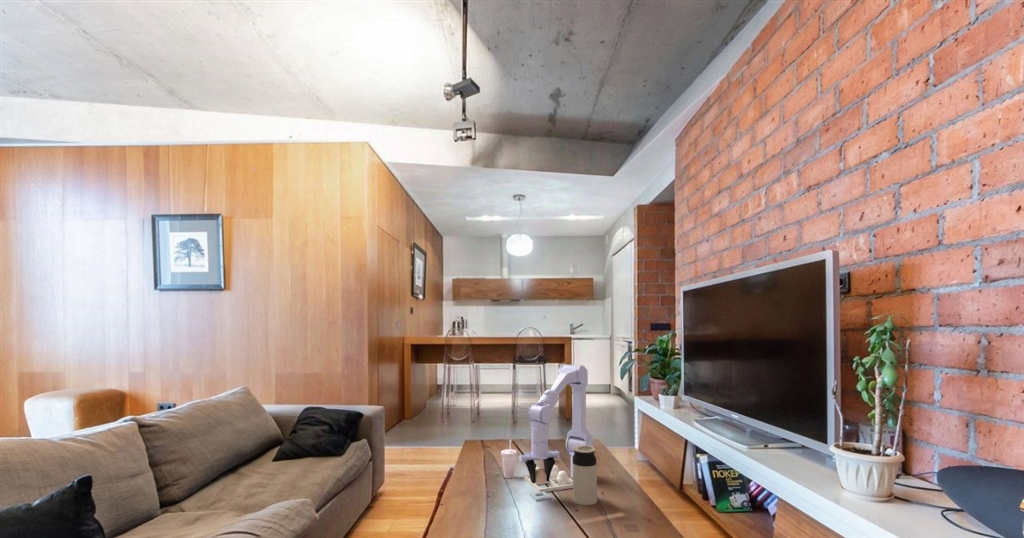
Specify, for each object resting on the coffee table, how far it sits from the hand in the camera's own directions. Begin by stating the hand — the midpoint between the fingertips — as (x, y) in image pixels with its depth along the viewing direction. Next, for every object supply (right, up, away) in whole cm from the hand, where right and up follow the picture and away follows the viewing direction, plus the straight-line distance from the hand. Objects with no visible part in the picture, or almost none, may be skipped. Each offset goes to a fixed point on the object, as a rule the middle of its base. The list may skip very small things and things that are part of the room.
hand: (540, 481), depth 157 cm
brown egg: (0, -1, 0) cm, 1 cm away
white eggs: (+4, -7, +13) cm, 15 cm away
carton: (+4, -7, +13) cm, 15 cm away
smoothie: (-11, -9, +22) cm, 26 cm away
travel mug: (+15, -6, -4) cm, 16 cm away
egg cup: (0, -6, -1) cm, 6 cm away
